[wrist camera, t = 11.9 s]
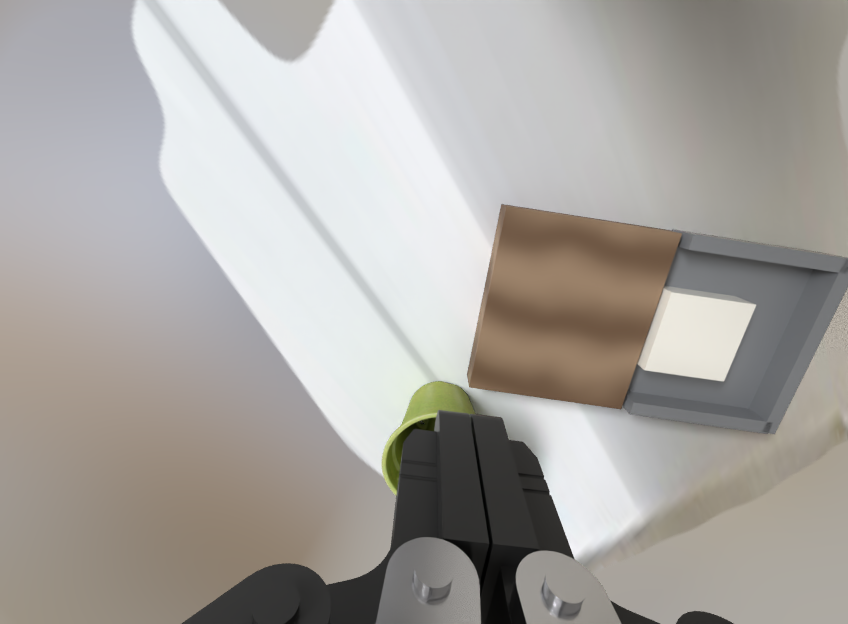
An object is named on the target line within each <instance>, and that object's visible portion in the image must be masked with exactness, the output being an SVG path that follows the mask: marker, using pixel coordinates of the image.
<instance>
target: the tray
mask: <svg viewBox="0 0 848 624" xmlns="http://www.w3.org/2000/svg"><path fill="white" fill-rule="evenodd" d="M669 231H671V230H669ZM672 231H673V232H678V233H682V235H681V238H680V241H679V244H678V247H677V250H676V252H675V255H674V258H673V261H672V264H671V267H670V270H669V273H668V275H667V278H666V281H665V284H664V286H669V287H676V288H683V289H690V290H697V291H703V292H710V293H717V294H724V295H731V296H736V297H738V298H741V299H743V300H746V301H748V302H751V303H753V304H756V307H755V309H754V312H753V314H752V316H751V319H750V321H749V324H748V326H747V328H746V331H745V333H744V335H743V338H742V340H741V342H740V345H739V347H738V350H737V352H736V354H735V357H734V359H733V361H732V364H731V366H730V368H729V371H728V373H727V375H726V378H725V380H724V382H723V381H716V380H709V379H702V378H695V377H688V376H681V375H674V374H667V373H660V372H653V371H646V370H643V369H642V368H641V367H640V366H639V365H638V364H637V365H636V368H635V370H634V373H633V376H632V379H631V382H630V385H629V388H628V391H627V393H626V396H625V399H624V402H623V407H624V408H625V409H626V410H627V412H628V413H629V414H632V415H639V416H646V417H653V418H660V419H667V420H674V421H681V422H688V423H695V424H701V425H708V426H715V427H722V428H729V429H736V430H743V431H750V432H757V433H764V434H768V433H771V434H775V432H776V430H777V428H778V426H779V424H780V422H781V420H782V418H783V416H784V414H785V412H786V410H787V408H788V406H789V404H790V402H791V400H792V398H793V396H794V394H795V392H796V390H797V388H798V386H799V384H800V382H801V380H802V378H803V376H804V374H805V372H806V370H807V368H808V366H809V364H810V362H811V360H812V358H813V356H814V354H815V352H816V350H817V348H818V346H819V344H820V342H821V340H822V338H823V336H824V334H825V332H826V330H827V328H828V326H829V324H830V322H831V320H832V318H833V316H834V314H835V312H836V310H837V308H838V306H839V304H840V302H841V300H842V298H843V296H844V294H845V292H846V290H847V288H848V258H846V257H841V256H836V255H831V254H825V253H820V252H814V251H808V250H801V249H795V248H788V247H782V246H776V245H769V244H763V243H756V242H750V241H743V240H737V239H731V238H724V237H718V236H711V235H705V234H698V233H692V232H685V231H679V230H673V229H672Z"/></svg>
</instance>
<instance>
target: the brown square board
mask: <svg viewBox="0 0 848 624" xmlns="http://www.w3.org/2000/svg"><path fill="white" fill-rule="evenodd" d="M681 235H682V233H678V232H673V231H669V230H665V229H658V228H652V227H645V226H639V225H632V224H626V223H619V222H613V221H607V220H600V219H594V218H587V217H581V216H574V215H568V214H562V213H555V212H549V211H542V210H536V209H529V208H523V207H516V206H510V205H504V204H501V209H500V214H499V219H498V224H497V229H496V234H495V239H494V244H493V249H492V254H491V259H490V263H489V268H488V273H487V278H486V283H485V288H484V293H483V298H482V303H481V308H480V313H479V318H478V323H477V328H476V333H475V338H474V343H473V347H472V352H471V357H470V362H469V367H468V372H467V377H468V383H469V387H471V388H478V389H485V390H492V391H499V392H506V393H512V394H519V395H526V396H533V397H540V398H547V399H554V400H561V401H568V402H575V403H582V404H589V405H595V406H602V407H609V408H616V409H621V408H622V405H623V402H624V399H625V396H626V393H627V391H628V388H629V385H630V382H631V379H632V376H633V373H634V370H635V368H636V365H637V362H638V359H639V356H640V353H641V350H642V347H643V345H644V342H645V339H646V336H647V333H648V330H649V327H650V324H651V322H652V319H653V316H654V313H655V310H656V307H657V304H658V301H659V298H660V296H661V293H662V290H663V287H664V284H665V281H666V278H667V275H668V273H669V270H670V267H671V264H672V261H673V258H674V255H675V252H676V250H677V247H678V244H679V241H680V238H681Z"/></svg>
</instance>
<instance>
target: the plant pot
mask: <svg viewBox="0 0 848 624" xmlns="http://www.w3.org/2000/svg"><path fill="white" fill-rule="evenodd" d="M438 410H444V411H452V412H461V413H468V414H469V415H470V414H475V412H474V409H473V407H472V404H471V402H470V399H469V397H468V396H467V394H466V393H465V392H464V391H463V390H462V389H461V388H460V387H458V386H456V385H453V384H449V383H445V382H441V381H438V382H432V383H428V384H426V385H424V386H422V387H421V388H420V389H418V390H417V391H416V392H415V394H414V395H413V397H412V399H411V401H410V404H409V406H408V409H407V412H406V414H405V417H404V420H403V422H402V424H401V426H400V427H399V428H398V429H397V430H396V431H395V432H394V433H393V434H392V435H391V436H390V438H389V440H388V441H387V443H386V445H385V448H384V451H383V455H382V472H383V475H384V479H385V481H386V483H387V485H388V486H389V488H390V489H391V490H392V492H393V493H394V494H395V495H396V494H397V487H398V480H399V472H400V465H401V457H402V450H403V442H404V441H405V440H406V438H407V437H408V436H409V435H410V433H411V432H412V431H413V430H414V429H419V430H427V431H434V428H435V422H436V416H437V412H438ZM421 420H422V422H424V425H423V424H421V423H420V422H419V421H421Z"/></svg>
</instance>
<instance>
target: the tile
mask: <svg viewBox="0 0 848 624" xmlns="http://www.w3.org/2000/svg"><path fill="white" fill-rule="evenodd" d="M755 307H756V304H753V303H751V302H748V301H746V300H743V299H741V298H738V297H736V296H731V295H724V294H717V293H710V292H703V291H697V290H690V289H683V288H676V287H669V286H664V287H663V290H662V293H661V296H660V298H659V301H658V304H657V307H656V310H655V313H654V316H653V319H652V322H651V324H650V327H649V330H648V333H647V336H646V339H645V342H644V345H643V347H642V350H641V353H640V356H639V359H638V362H637V364H638V365H639V366H640V367H641V368H642V369H643V370H646V371H653V372H660V373H667V374H674V375H681V376H688V377H695V378H702V379H709V380H716V381H723V382H724V380H725V378H726V375H727V373H728V371H729V368H730V366H731V364H732V361H733V359H734V357H735V354H736V352H737V350H738V347H739V345H740V342H741V340H742V338H743V335H744V333H745V331H746V328H747V326H748V324H749V321H750V319H751V316H752V314H753V312H754V309H755Z"/></svg>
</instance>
